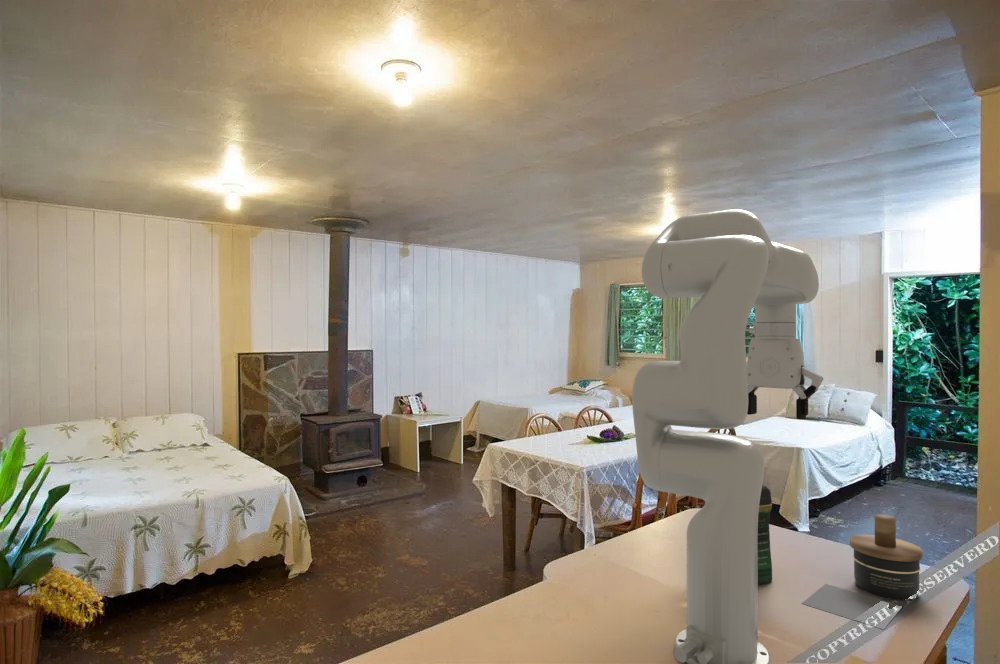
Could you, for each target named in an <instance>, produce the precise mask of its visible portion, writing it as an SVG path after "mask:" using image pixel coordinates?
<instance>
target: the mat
mask: <svg viewBox="0 0 1000 664" xmlns="http://www.w3.org/2000/svg"><path fill="white" fill-rule="evenodd" d="M882 600H883V599H880V598H877V597H873V596H871V595H867V594H863V593H860V592H856V591H852V590H848V589H847V588H841V587H838V586H835V585H832V584H828V583H825V584H824V585H822V586H821V587H819V588H818V589H817V590H816V591H815V592H814V593H812V594H811V595H810V596H809V597H808V598H806V599H805V600H804V601H802V602H801V605H804V606H807V607H811V608H814V609H817V610H820V611H823V612H826V613H829V614H833V615H835V616H838V617H841V618H845V619H848V620H851V621H854V620H853V619H855V618H857V617H858V616H859V615H861V614H863V613H864V612H865V611H867V610H868V609H869V608H871V607H873V606H874V605H875V604H877V603H879V602H880V601H882ZM889 602H890V603H889V607H888V608H889V609H892V608H893V607H895V606H896V605H897V603H894V602H891V601H889ZM885 630H886V628H885V629H884V630H883V631H885Z"/></svg>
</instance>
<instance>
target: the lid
mask: <svg viewBox="0 0 1000 664" xmlns="http://www.w3.org/2000/svg"><path fill="white" fill-rule="evenodd" d="M896 534H897V518H896V517H894V516H892V515H889V514H888V515H887V514H882V513H881V514H880V513H878V514H874V534H854V535H852V536H850V537H849V547H850V548H852V549H853V550H854V549H855V550H856V551H858V552H861V553H863V554H866V555H869V556H872V557H876V558H881V559H886V560H892V561H902V562H912V561H919V562H920V560H923V558H924V551H923V549H922V547H920V546H919V545H916V544H914V543H912V542H910V541H906V540H903V539H900V538H897V535H896Z"/></svg>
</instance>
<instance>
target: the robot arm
mask: <svg viewBox="0 0 1000 664" xmlns="http://www.w3.org/2000/svg"><path fill="white" fill-rule="evenodd" d="M818 274H819V273H818V271H817V269H816V267H815V264H814V262H813V260H812V258H811V257H810V255H809V254H808V253H806V252H805V251H802V250H800V249H798V248H794V247H792V246H788V245H784V244H781V243H778V242H775V241H772V240H771V238H770V237H769V235H768V233H767V231H766V229H765V228H764V226H763V224H762V222H761V220H760V219H759V217H757V216H756V215H755V214H753V213H752V212H750V211H748V210H744V209H725V210H724V209H723V210H719V211H717V210H716V211H711V212H704V213H703V212H702V213H694V214H690V215H689V214H687V215H684V216H681V217H678V218H677V219H675V220H674V221H672V222H671V223H670V224H668V226H666V227H665V228H664V229H663V230H662V231H661V233H660V234H659V235H658V236H657V237H656V238H655V239H654V240H653V242H651V244H650V245H648V248H647V250H646V251H645V254H644V256H643V259H642V263H641V279H642V282H643V285H644V287H645V289H646V290H647V292H648V293H649V294H651V295H652V296H654V297H656V298H660V299H679V298H680V299H682V298H683V299H684V298H699V300H698V301H697V302H696V303H695V304H694V305H693V306H692V308H691V309H690V310H689V312H688V313H687V314H686V316H685V318H684V319H683V321H682V324H681V325H680V328H679V342H680V343H679V344H680V348H679V349H680V360H655V361H654V360H653V361H649V362H647V363H644V365H642V366H641V367H640V368H639V369H638V371H637V372H636V374H635V377H634V380H633V385H632V391H631V392H632V393H631V400H632V403H631V404H632V414H633V416H632V417H633V426H634V435H635V445H636V455H637V462H638V463H637V464H638V469H639V474H640V477H641V480H642V482H644V484H645V486H647V487H648V488H649V489H652V490H653V491H654V490H655V491H658V492H663V493H668V494H675V495H680V496H687V497H693V498H695V499H700V500H703V501H704V505H703V507H702V508H700V509H699V510H698V511H697V512H696V513H695V514H694V515H693V517H692V518H690V520H689V523H688V525H687V530H686V628H685V629H683V630H681V631H680V632H678V634H677V635H676V637H675V647H674V649H673V655H674V658H675V659H676V660H677V661H678V662H679V663H686V664H771V657H770V653H769V652H768V649H767V648H766V647H765V646H764V645H763V644H762V643H761V642H760V641H758V639H759V637H758V636H759V633H758V629H759V627H758V626H759V625H758V623H759V622H758V618H759V617H758V616H759V615H758V608H759V607H758V603H759V601H758V600H759V599H758V597H759V596H758V593H759V592H758V590H759V589H758V586H759V585H758V580H757V561H758V559H757V533H758V511H759V502H760V496H761V489H762V485H763V482H764V476H765V458H764V455H763V452H762V450H761V449H760V447H759V446H758V445H757V444H755V443H754V442H753V441H752V440H749V439H748V438H746V437H742V436H739V435H733V434H728V433H719V432H710V431H709V432H707V431H694V430H693V431H692V430H683V429H682V430H681V429H673V428H672V426H674V427H686V428H696V429H697V428H698V429H709V430H728V429H735V428H737V427H740V426H741V425H742V424H743V423H744V422H745V420H746V418H747V416H748V415H751V416H752V415H755V414H758V413H757V412H758V396H757V394H755V393H756V391H757V390H758V389H760V388H767V389H782V390H783V389H785V390H790V389H792V390H793V391H794V393H795V394H796V395H797V396H798V398H797V399H796V401H795V402H796V403H795V407H796V408H795V412H796V414H795V417H796V419H797V420H805V419H806V418H807V416H808V414H809V399H810V398H811V397H812V396H813V395H814V394H816V392H818V390H819V387H820V386H821V384H822V383H823V381H824V377H823V376H821V375H819V374H817V373H816V372H813V371H812V370H810V369H808V368H807V367H805V359H804V353H803V348H802V343H801V339H799V338H797V305H803V304H805V305H806V304H808V303H810V302H812V301H813V300H814V299H815V298H816V297H817V295H818V292H819V288H820V287H819V284H820V283H819V275H818ZM753 307H755V310H754V311H755V312H754V314H755V316H754V318H755V320H754V321H755V323H754V324H753V326H749V327H748V333H749V334H753V335H754V337H755V338H751V339H750V342H749V347H748V353H746V352H747V351H746V349H747V348H746V328H747V325H748V321H749V317H750V315H751V312H752V310H753ZM806 378H808V379H810V380H811V384H810V386H808V387H805V383H806V382H805V381H806Z"/></svg>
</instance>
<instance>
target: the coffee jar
mask: <svg viewBox="0 0 1000 664" xmlns="http://www.w3.org/2000/svg"><path fill="white" fill-rule="evenodd" d="M771 494H772V493H771V489H770V488H769V487H767V486H766V485H763V484H762V489H761V496H760V502H759V511H758V533H757V559H758V561H757V580H758V586H761V585H762V586H763V585H768V584H770V583H771V582H772V580H773V565H772V564H773V563H772V562H773V561H772V553H771V537H770V535H771V534H770V515H771V510H772V505H773V501H772V495H771Z"/></svg>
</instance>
